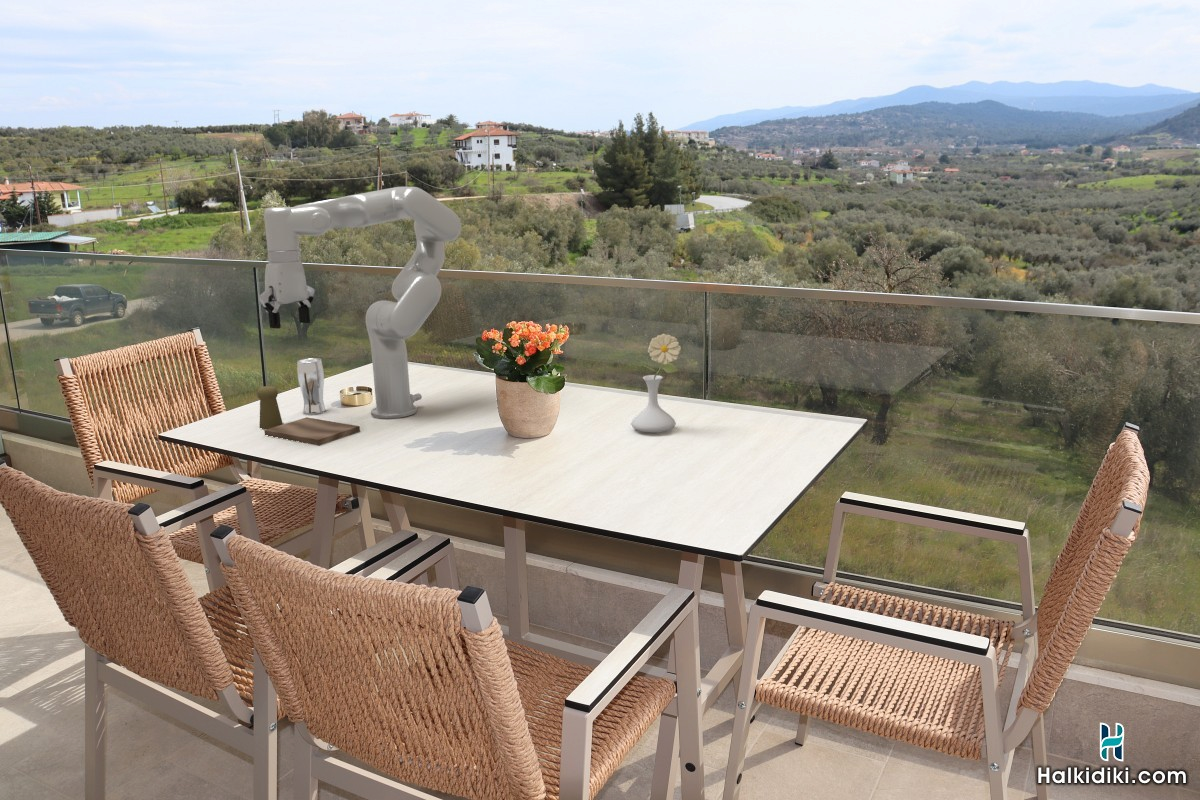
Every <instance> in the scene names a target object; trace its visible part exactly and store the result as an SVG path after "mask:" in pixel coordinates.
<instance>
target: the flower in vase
mask: <svg viewBox="0 0 1200 800" xmlns="http://www.w3.org/2000/svg"><path fill="white" fill-rule="evenodd" d="M679 344H680V342H679V341H678V339H677V338H676V337H675V336H672V335H670V334H665V333H662V334H659V335H656V336H655V337H652V338H651V341H650V342H649V345H648V348H647V353H648V354H649V357H650V359H651V361H654V362H656V363H657V364H661V365H660V367H659V369H658V370H657V371H656V369H653V368H652V367H649V366H647V365H645V364H644V363H642V365H643V366H644V367H645V368H646V369H648V370H651V371H653V372H655V374H649V375H644V376H642V379H643V380H644V382H645V383H646V387H647V391H648V402H647V405H646V407H645V408H644V409H643V410H642V411H640V412H639V413H638V414H637V415H636V416H634V418H633V419H632V421H631V422H630V425H631V427H632V428H633V429H635V430H637V431H639V432H642V433H643V432H644V433H662V432H663V433H664V432H666V431H669V430H671V429H673V428H674V427H675V425H676V424H677V423H676V421H675V419H674V418H673V417H672V415H670V413H668V412H666V411H665V410H664V409H663V408H661V406H660V405H659V401H658V395H659V394H658V392H659V386H660V383H661V381H662V379H663V378H664V377H663V376H662V375H658V374H659V372H660V371H661V370H663V371H664V372H665V373H666V374H672V373H673V374H674V373H676V372H679V371H680V370H679V369H678V367H677V366H676V365H675V364H673V363H672V362H675V361H677V360H678V358H679V354H680V352H681V351H682V349H681V348H682V346H681V345H679Z"/></svg>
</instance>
